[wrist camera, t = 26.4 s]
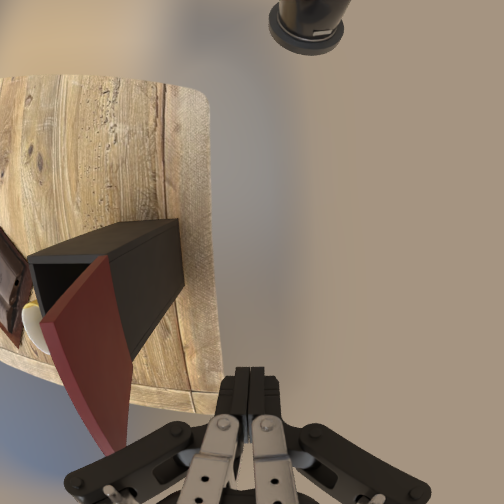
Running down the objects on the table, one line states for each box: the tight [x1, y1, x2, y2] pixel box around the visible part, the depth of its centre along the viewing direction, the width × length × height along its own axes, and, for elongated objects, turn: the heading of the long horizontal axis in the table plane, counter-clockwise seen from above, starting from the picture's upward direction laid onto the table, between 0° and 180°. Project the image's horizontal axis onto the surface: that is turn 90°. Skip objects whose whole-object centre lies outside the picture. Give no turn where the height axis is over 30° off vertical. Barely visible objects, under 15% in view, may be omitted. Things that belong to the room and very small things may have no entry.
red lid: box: [39, 255, 133, 456], centre depth 15 cm, size 12×11×1 cm
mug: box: [22, 300, 50, 355], centre depth 39 cm, size 14×10×10 cm
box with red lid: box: [27, 218, 185, 362], centre depth 31 cm, size 11×11×21 cm
